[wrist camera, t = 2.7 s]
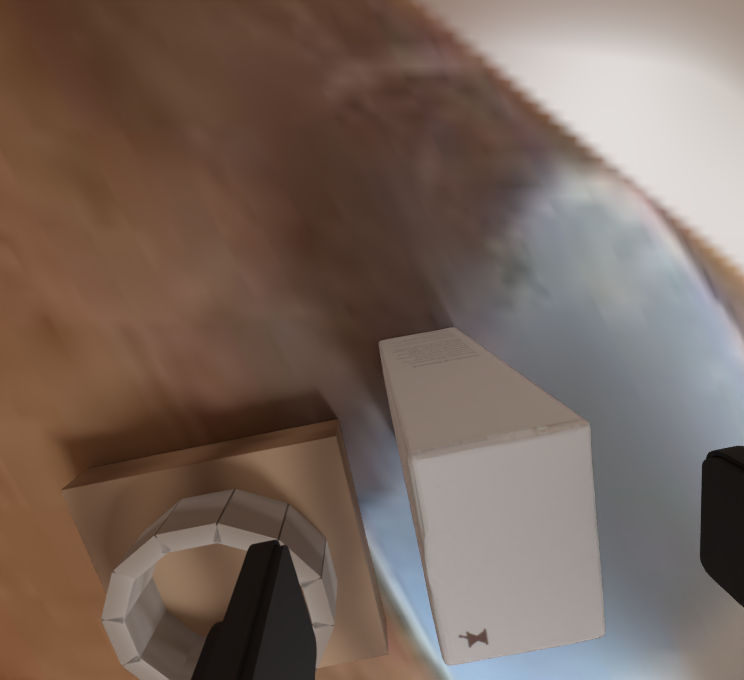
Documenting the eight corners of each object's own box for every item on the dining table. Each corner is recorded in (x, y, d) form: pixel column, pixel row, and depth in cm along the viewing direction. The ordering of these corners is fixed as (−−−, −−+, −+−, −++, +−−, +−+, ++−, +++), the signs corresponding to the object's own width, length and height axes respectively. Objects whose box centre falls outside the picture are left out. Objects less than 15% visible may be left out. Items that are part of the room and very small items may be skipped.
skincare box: (471, 427, 21) (611, 645, 9) (395, 441, 21) (440, 676, 9) (456, 321, 20) (599, 420, 8) (376, 336, 20) (399, 457, 8)
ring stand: (338, 418, 21) (332, 463, 16) (386, 621, 24) (391, 705, 19) (88, 468, 21) (16, 525, 16) (168, 662, 24) (125, 754, 19)
